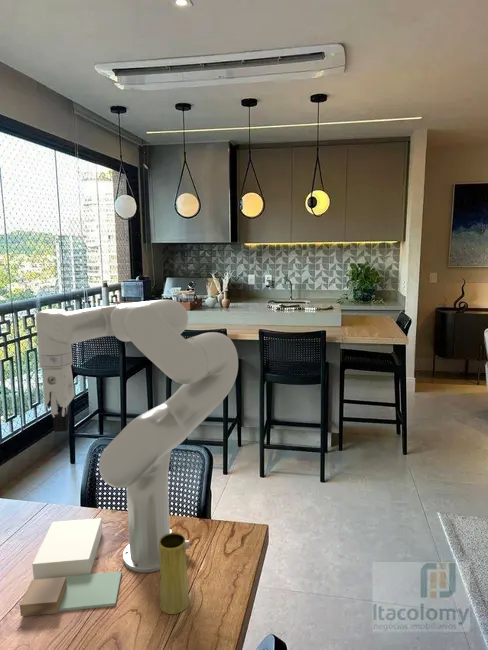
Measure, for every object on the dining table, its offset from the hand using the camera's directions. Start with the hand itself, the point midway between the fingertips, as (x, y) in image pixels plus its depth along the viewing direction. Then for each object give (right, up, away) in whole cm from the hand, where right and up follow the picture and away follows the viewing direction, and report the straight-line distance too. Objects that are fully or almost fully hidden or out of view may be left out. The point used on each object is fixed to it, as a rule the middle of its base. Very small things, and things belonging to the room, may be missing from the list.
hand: (61, 430), depth 116 cm
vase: (+32, -31, -21) cm, 49 cm away
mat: (+11, -30, -18) cm, 37 cm away
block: (+5, -28, -22) cm, 36 cm away
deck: (+5, -28, -6) cm, 29 cm away
